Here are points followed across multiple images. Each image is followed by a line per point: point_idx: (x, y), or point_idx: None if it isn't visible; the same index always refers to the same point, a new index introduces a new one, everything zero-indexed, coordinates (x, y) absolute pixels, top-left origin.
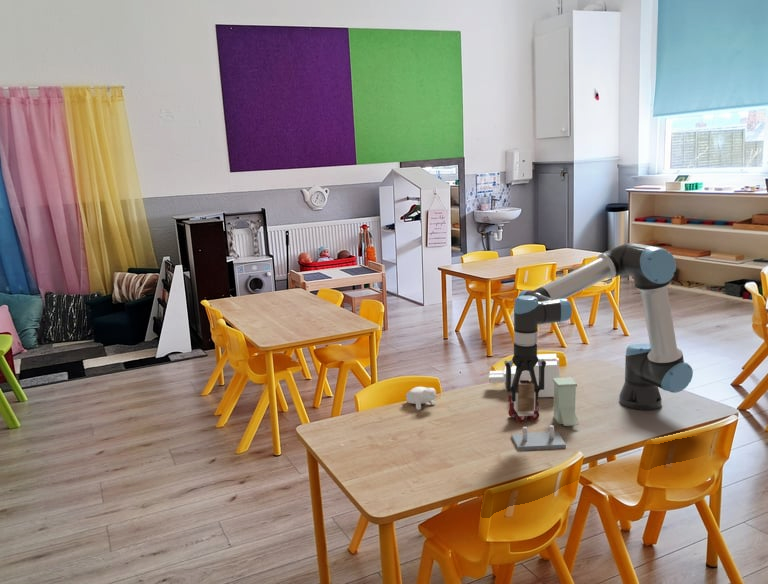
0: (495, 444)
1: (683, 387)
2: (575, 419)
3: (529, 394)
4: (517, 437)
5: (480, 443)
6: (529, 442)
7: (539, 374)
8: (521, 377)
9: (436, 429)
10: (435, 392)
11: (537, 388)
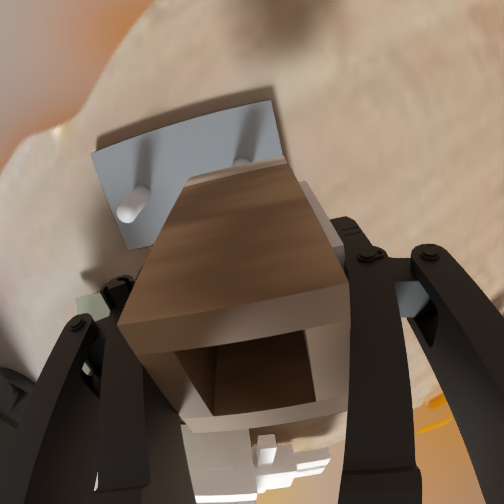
0: (352, 144)
1: None
2: (82, 313)
3: (198, 236)
4: None
5: (401, 151)
6: (223, 145)
7: (79, 461)
8: (253, 466)
9: (490, 240)
10: None
11: (117, 318)
